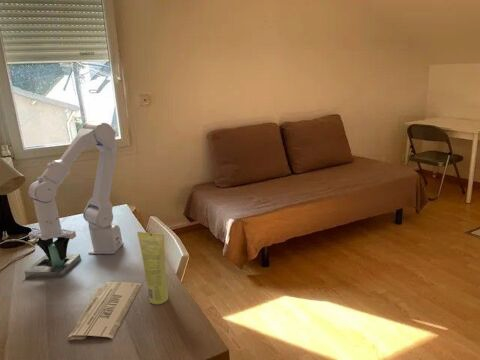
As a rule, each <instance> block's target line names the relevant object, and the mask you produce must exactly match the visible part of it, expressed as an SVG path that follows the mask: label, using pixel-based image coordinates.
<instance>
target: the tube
mask: <svg viewBox="0 0 480 360" xmlns="http://www.w3.org/2000/svg"><path fill="white" fill-rule="evenodd" d="M137 238H138V243H139V247H140V253H141V257H142V262H143V268H144V274H145V279H146V280H145V281H146V286H147V294H148V298H149V299H148V300H149V303H151V304H153V305H162V304H165V303H166V302H167V301H168V300H169V292H168V291H169V290H168V283H167V282H168V281H167V269H166V258H165V257H166V256H165V233H158V232H157V233H155V232H154V233H153V232H145V231H144V232H143V231H137Z"/></svg>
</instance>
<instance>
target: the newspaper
mask: <svg viewBox="0 0 480 360" xmlns="http://www.w3.org/2000/svg"><path fill="white" fill-rule="evenodd" d="M141 285H142V286H143V284H142V283H139V282H130V281H109V282H106V283H105V284H104V286H102V285H101V286H98V287H97V289H96V291H95V293H94V294H93V296H92V297H91V299H90V300H89V302H88V304H87V305H86V307H85V308H84V310H83V312H82V314H81V315H80V317H79V319H78V321H77V323H76V325H75V326H74V328H73V329H72V331H71V332H70V334H69V335H68V337H67V339H68V341H74V340H81V341H82V340H85V339H86V338H87V336H91V337H102V338H110V339H111V340H114V338H115V336H116V333H117V332H118V331H119V328H120V326H121V325H122V323H123V321H124V319H125V317H126V315H127V313H128V311H129V310H130V308H131V306H132V304H133V302H134V300H135V299H136V297H135V296H137V294H138V293H139V291H140V290H141V287H142V286H141ZM137 292H138V293H137ZM134 298H135V299H134Z"/></svg>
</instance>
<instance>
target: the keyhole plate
mask: <svg viewBox="0 0 480 360" xmlns="http://www.w3.org/2000/svg"><path fill="white" fill-rule="evenodd" d="M81 260H82V259H81V254H80V253H72V254H71V253H67V254H66V258H65V259H64V263H65V264H64V265H63V266H62V267H53V265H52V261H51V260H49V259H48V257H47V255H46V254H45V255H43V256H42V257H41V258H39V260H37V261H36V262H35V263H33V264H31V266H29V267H28V268H27V269H26V270H24V276H25V278H45V279H46V278H51V279H54V278H55V279H56V278H57V279H62V278H63V277H64V276H65V275H66V274H68V272H69V271H70V270H72V269H73V268H74V267H75V266H76V265H77V264H79V262H80V261H81ZM48 265H51V266H48Z"/></svg>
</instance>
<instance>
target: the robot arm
mask: <svg viewBox="0 0 480 360" xmlns="http://www.w3.org/2000/svg"><path fill="white" fill-rule="evenodd" d="M91 146H95V147H96V149H97V150H98V151H99V155H98V161H97V167H96V174H95V180H94V185H93V191H92V196H91V198H89V200H88V201H87V204H86V206H85V208H84V210H83V212H82V214H83V215H82V217H83V220H85V222H87V223H88V230H89V236H90V240H91V244H92V248H91V249H90V250H89V251H88V254H90V255H91V254H94V255H95V254H98V255H99V254H101V255H103V254H104V255H113V254H115V253H116V252H117V251H119V249H120V248H121V247H122V246H123V245H124V241H123V238H122V233H121V228H120V226H119V225H118V224H114V223H113V221H114V214H113V204H112V202H111V200H110V197H111V190H112V184H113V179H114V174H115V167H116V163H117V162H116V161H117V157H118V150H119V149H118V148H119V147H118V144H117V140H116V130H115V129H114V128H113V127H112V126H111V125H110V124H109V123H107V122H96V121H87V122H85V123H84V124H83V125H82V127H81V128H80V129H78V131H77V134H76V136H75V138H74V139H73V140H72V141H71V143H70V144H69V146H68V147H67V148H66V150H65V151H64V152H63V155H61V157H60V158H59V159H56V160H55V159H54V160H52V161H51V162H48V163H47V164H46V167H47V168H46V169H45V170H44V172H43V173H42V174H41V175H40V176H38V177H37V178H36V179H37V180H36V181H34V182H32V183H31V184H30V185H29V187H28V191H27V194H28V196H29V197H30V198H31V199H32V201H33V204H34V210H35V215H36V218H37V221H38V226H39V230H32V231H30V232H29V233H28V237H29V240H33V239H38V240H37V241H36V242H35V243H36V246H38V247H39V248H40V249H41V250H42V251H43V253H44V254H45V255H47V257H48V259H49V260H51V257H50V253H49V249H48V246H49V245H50V244H54V245H55V246H56V248H57V250H58V253H59V257H60V259H61V260H64V259H65V258H66V254H68V252H67V251H68V246H69V241H70V240H73V239H75V238H76V237H77V234H76V231H75V230H71V229H65V228H62V226H61V221H60V217H59V213H58V207H57V202H56V199H55V198H56V197H57V194H58V193H57V192H58V188H59V187H60V185H61V184H62V182H63V181H65V179H66V178H67V176H68V175H69V174H70V172H71V169H70V168H71V167H70V166H71V165H72V164H73V162H75V160H76V159H77V158H78V157H79V156H80V154H81V153H82V152H83V151H84V150H85V149H86V148H88V147H91ZM54 239H56V240H54Z"/></svg>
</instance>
